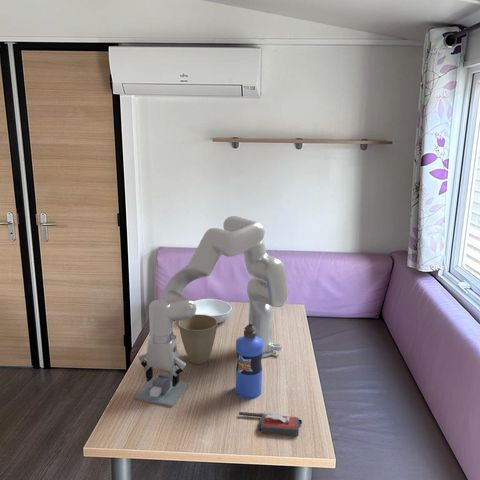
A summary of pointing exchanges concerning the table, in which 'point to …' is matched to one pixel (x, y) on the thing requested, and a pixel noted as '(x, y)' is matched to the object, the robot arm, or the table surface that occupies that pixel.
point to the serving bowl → (213, 308)
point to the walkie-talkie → (276, 423)
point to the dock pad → (168, 398)
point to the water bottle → (249, 364)
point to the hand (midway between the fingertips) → (162, 382)
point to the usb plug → (160, 385)
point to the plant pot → (198, 337)
